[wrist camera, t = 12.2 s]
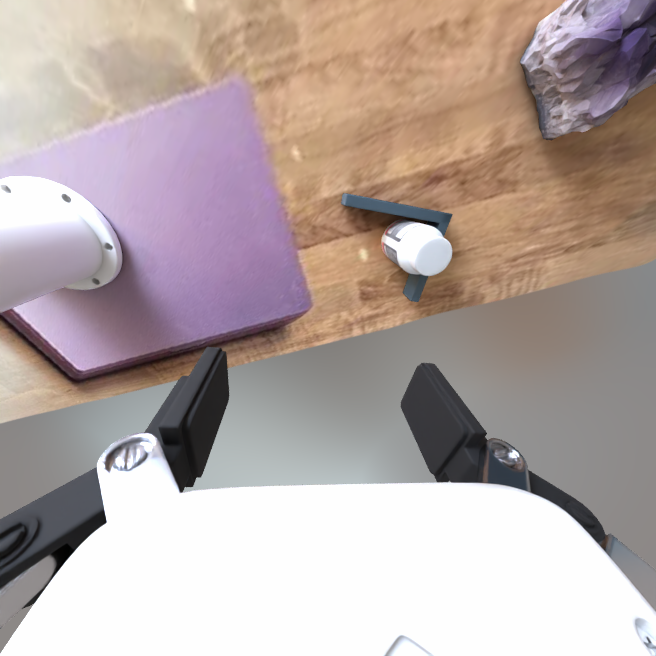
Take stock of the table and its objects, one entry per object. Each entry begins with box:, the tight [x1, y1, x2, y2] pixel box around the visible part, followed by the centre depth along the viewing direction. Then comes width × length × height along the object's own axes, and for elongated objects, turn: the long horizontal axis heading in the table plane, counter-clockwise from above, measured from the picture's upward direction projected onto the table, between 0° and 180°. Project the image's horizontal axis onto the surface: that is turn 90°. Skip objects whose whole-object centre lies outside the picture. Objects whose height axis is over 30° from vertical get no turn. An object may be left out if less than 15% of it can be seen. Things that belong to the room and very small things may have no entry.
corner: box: [341, 194, 452, 302], centre depth 31 cm, size 13×12×3 cm
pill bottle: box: [381, 220, 452, 276], centre depth 28 cm, size 5×5×10 cm
